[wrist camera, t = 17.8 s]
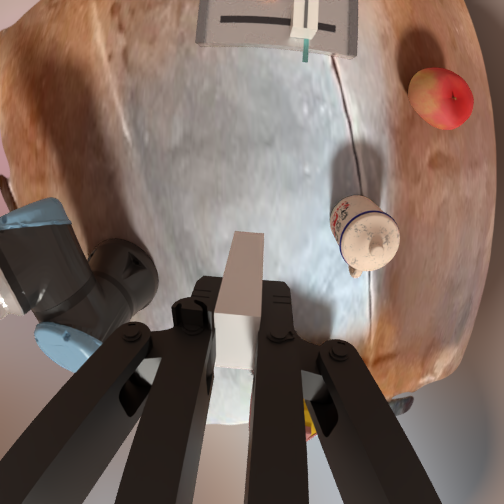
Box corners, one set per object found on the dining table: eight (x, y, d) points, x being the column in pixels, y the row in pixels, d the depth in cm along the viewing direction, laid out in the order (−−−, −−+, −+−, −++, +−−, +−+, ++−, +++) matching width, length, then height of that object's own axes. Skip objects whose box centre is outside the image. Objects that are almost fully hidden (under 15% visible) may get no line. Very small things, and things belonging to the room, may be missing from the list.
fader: (289, 36, 30) (292, 26, 25) (291, 7, 28) (294, -6, 23) (311, 39, 30) (317, 29, 25) (313, 10, 28) (318, -2, 23)
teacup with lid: (332, 189, 43) (352, 215, 32) (384, 197, 42) (416, 223, 32) (320, 257, 48) (333, 298, 38) (369, 261, 48) (391, 300, 38)
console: (199, 60, 34) (194, 56, 31) (211, -42, 25) (207, -51, 22) (349, 72, 34) (356, 69, 31) (351, -31, 25) (356, -39, 22)
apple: (429, 63, 31) (464, 57, 22) (453, 114, 34) (489, 119, 26) (387, 81, 34) (417, 75, 25) (413, 134, 37) (447, 143, 28)
